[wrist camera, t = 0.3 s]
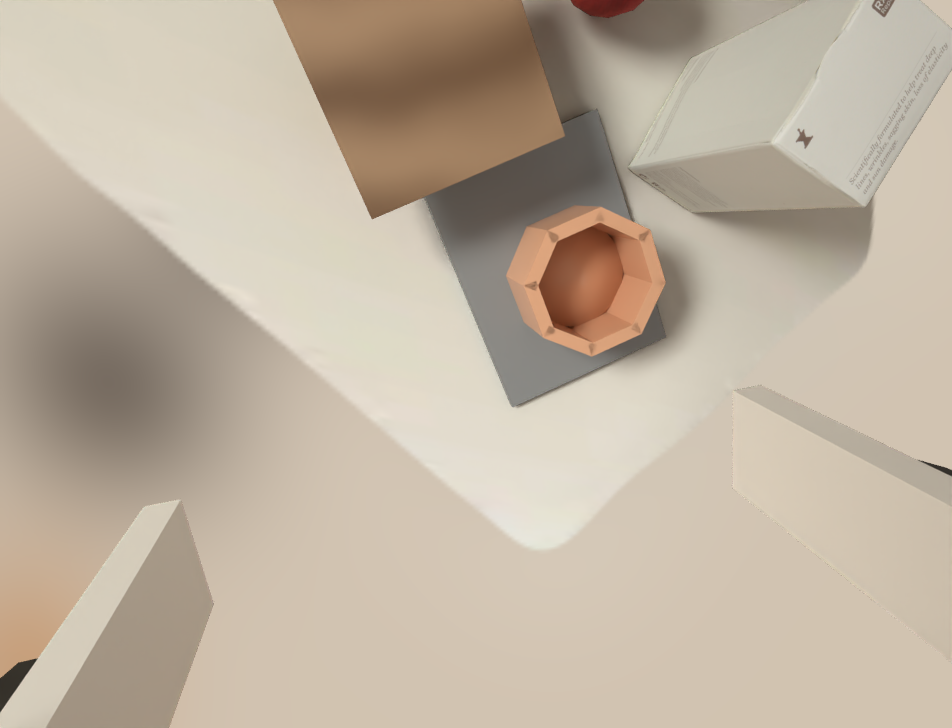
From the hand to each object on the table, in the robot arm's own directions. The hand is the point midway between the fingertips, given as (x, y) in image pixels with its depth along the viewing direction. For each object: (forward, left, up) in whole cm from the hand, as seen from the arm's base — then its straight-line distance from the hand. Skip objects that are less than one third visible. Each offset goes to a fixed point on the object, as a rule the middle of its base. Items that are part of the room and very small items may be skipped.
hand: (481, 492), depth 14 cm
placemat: (+2, +10, -26) cm, 28 cm away
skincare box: (-3, +22, -26) cm, 34 cm away
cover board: (-11, +6, -21) cm, 24 cm away
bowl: (+3, +11, -25) cm, 28 cm away
